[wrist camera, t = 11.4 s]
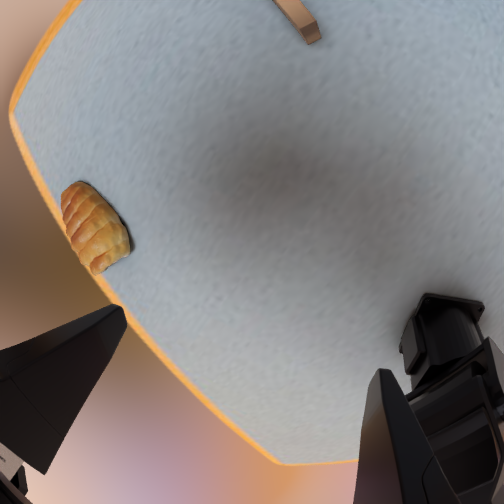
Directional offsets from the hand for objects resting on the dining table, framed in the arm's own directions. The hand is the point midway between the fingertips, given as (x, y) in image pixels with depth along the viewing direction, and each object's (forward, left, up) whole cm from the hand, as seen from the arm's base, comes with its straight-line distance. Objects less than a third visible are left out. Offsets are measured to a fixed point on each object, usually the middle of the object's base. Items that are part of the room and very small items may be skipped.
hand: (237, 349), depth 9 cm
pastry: (+19, +4, -14) cm, 24 cm away
